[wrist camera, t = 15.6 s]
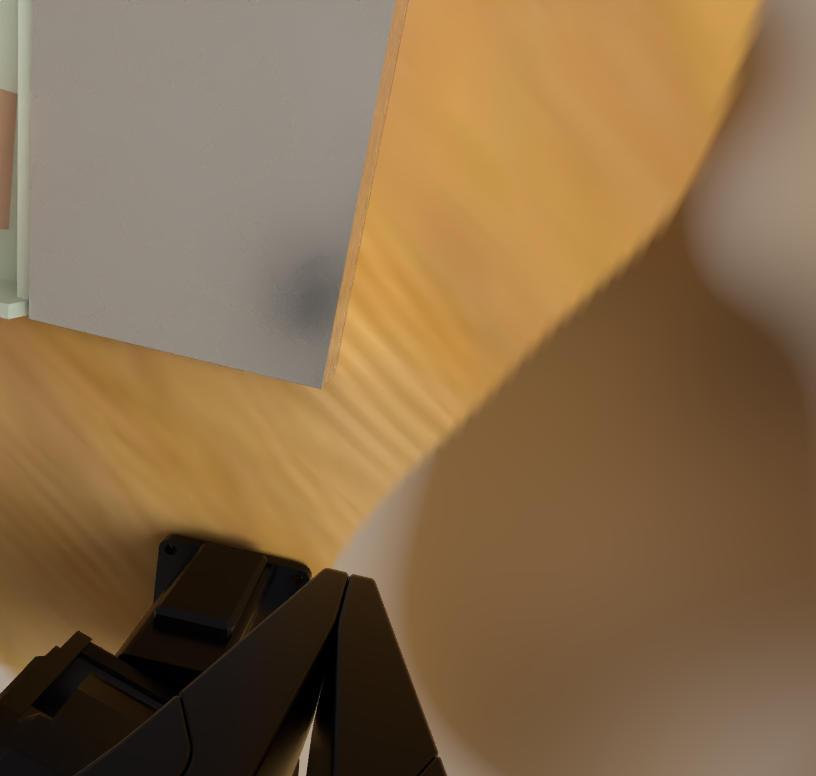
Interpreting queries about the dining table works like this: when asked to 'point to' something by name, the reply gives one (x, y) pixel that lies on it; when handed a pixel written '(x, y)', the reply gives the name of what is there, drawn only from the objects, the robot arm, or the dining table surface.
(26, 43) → the tray
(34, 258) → the plate
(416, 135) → the dining table surface
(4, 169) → the tile
